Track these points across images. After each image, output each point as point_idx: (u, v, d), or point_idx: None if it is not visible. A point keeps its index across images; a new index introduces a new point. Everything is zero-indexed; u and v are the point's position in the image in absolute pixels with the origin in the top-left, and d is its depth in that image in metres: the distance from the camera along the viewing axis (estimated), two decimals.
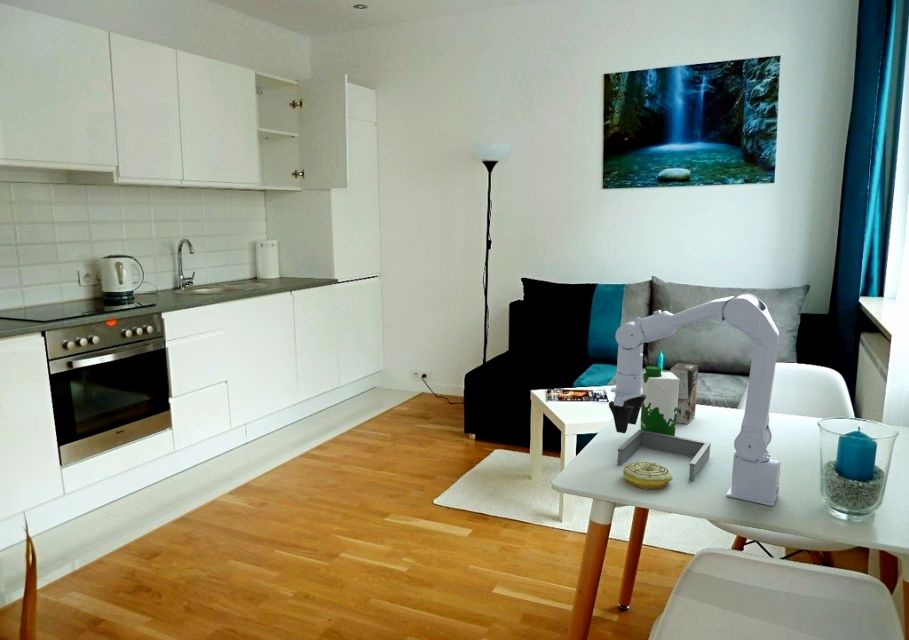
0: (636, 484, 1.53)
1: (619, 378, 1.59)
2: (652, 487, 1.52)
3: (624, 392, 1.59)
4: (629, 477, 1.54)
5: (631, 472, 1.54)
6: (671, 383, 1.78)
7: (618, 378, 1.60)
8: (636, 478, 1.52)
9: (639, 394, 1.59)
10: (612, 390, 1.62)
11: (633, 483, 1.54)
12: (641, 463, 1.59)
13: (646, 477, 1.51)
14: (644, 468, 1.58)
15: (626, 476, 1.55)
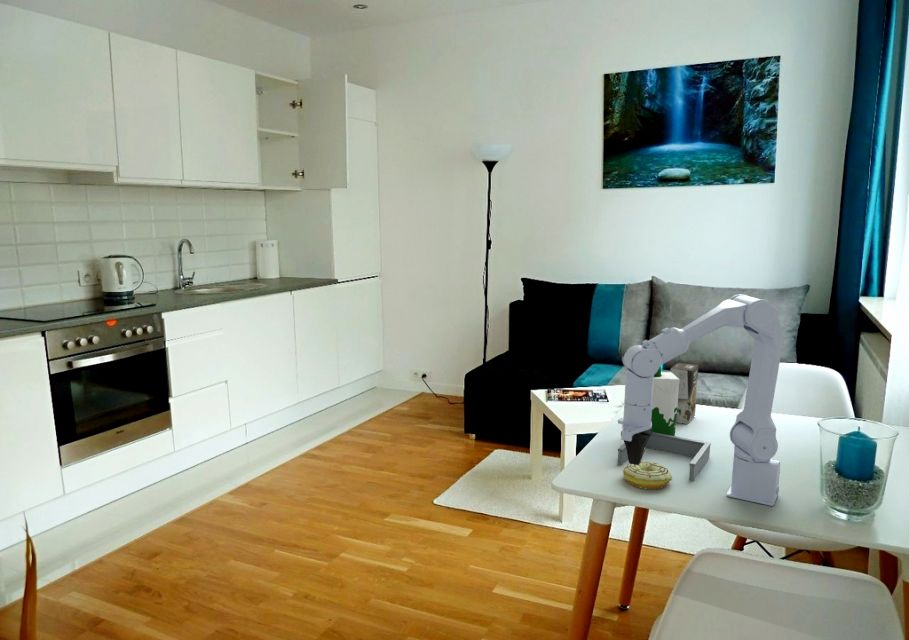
0: (636, 484, 1.53)
1: (627, 409, 1.43)
2: (652, 487, 1.52)
3: (632, 424, 1.43)
4: (629, 477, 1.54)
5: (631, 472, 1.54)
6: (671, 383, 1.78)
7: (626, 409, 1.44)
8: (636, 479, 1.52)
9: (649, 427, 1.43)
10: (619, 421, 1.46)
11: (633, 483, 1.54)
12: (641, 463, 1.59)
13: (646, 477, 1.51)
14: (644, 468, 1.58)
15: (626, 476, 1.55)
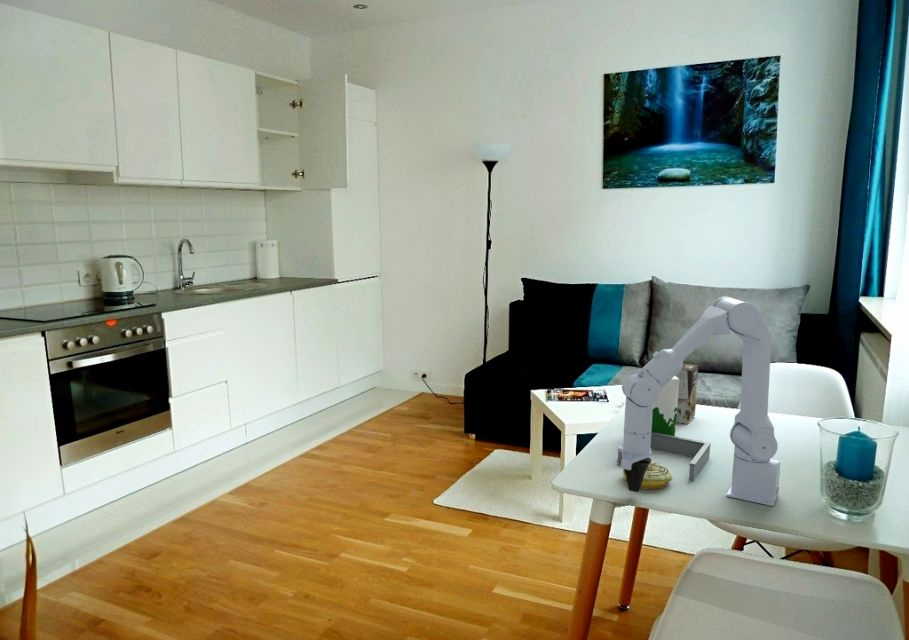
0: None
1: (626, 437, 1.45)
2: (652, 487, 1.52)
3: (632, 453, 1.44)
4: None
5: None
6: (671, 383, 1.78)
7: (625, 437, 1.45)
8: None
9: (648, 455, 1.45)
10: (619, 449, 1.48)
11: None
12: None
13: (646, 477, 1.51)
14: None
15: None
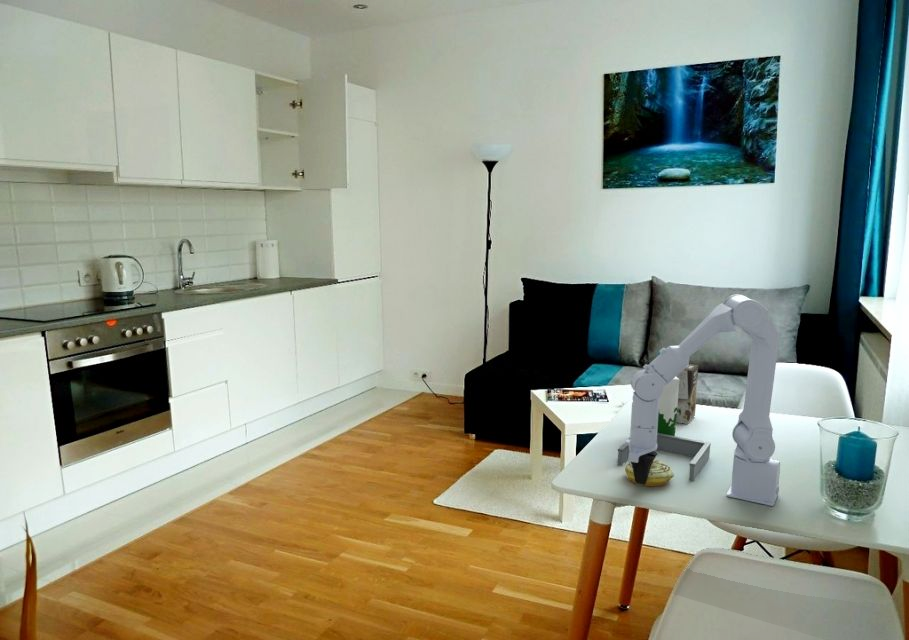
0: None
1: (633, 431, 1.49)
2: (654, 484, 1.53)
3: (639, 446, 1.48)
4: (631, 474, 1.55)
5: None
6: (671, 383, 1.78)
7: (632, 431, 1.49)
8: None
9: (655, 448, 1.49)
10: (626, 443, 1.52)
11: None
12: None
13: None
14: None
15: (628, 473, 1.56)
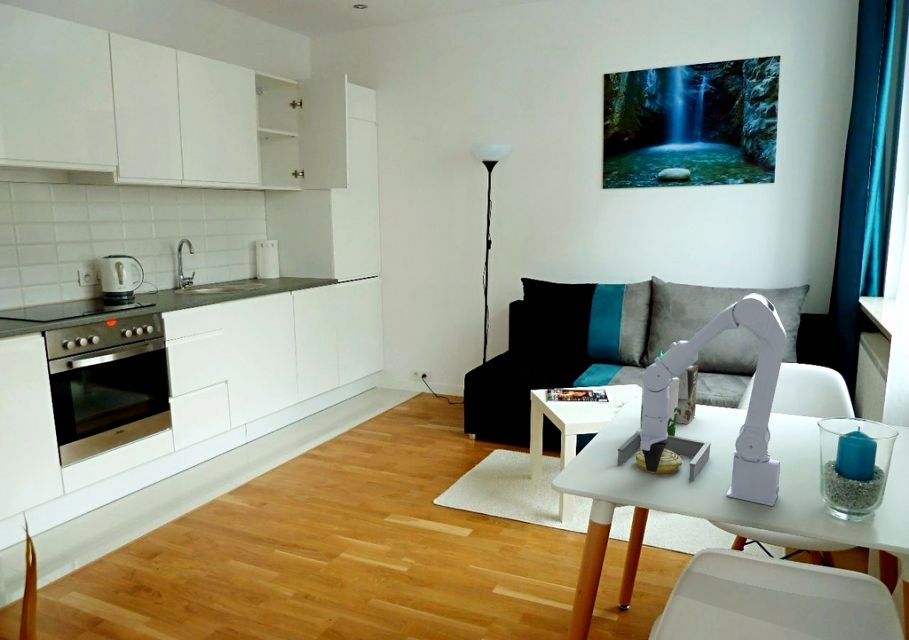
0: None
1: (645, 420, 1.56)
2: (664, 472, 1.60)
3: (650, 435, 1.55)
4: (642, 463, 1.62)
5: (644, 458, 1.62)
6: (671, 383, 1.78)
7: (644, 420, 1.56)
8: None
9: (665, 437, 1.56)
10: (637, 432, 1.59)
11: None
12: None
13: None
14: None
15: (639, 462, 1.63)
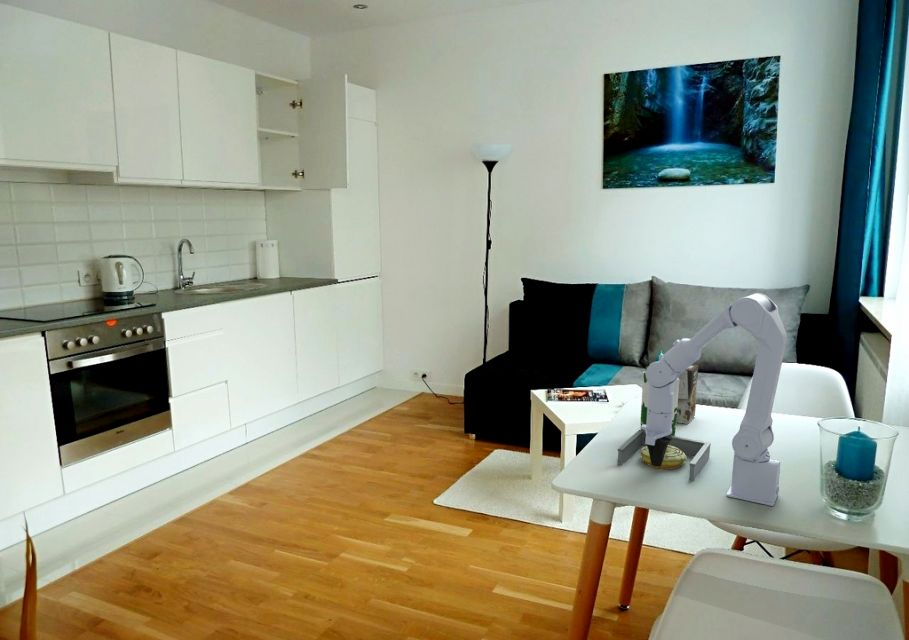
0: None
1: (650, 416, 1.59)
2: (669, 467, 1.64)
3: (655, 430, 1.59)
4: (647, 458, 1.66)
5: None
6: None
7: (649, 416, 1.60)
8: None
9: (670, 432, 1.59)
10: (642, 427, 1.62)
11: None
12: None
13: None
14: None
15: (644, 458, 1.66)
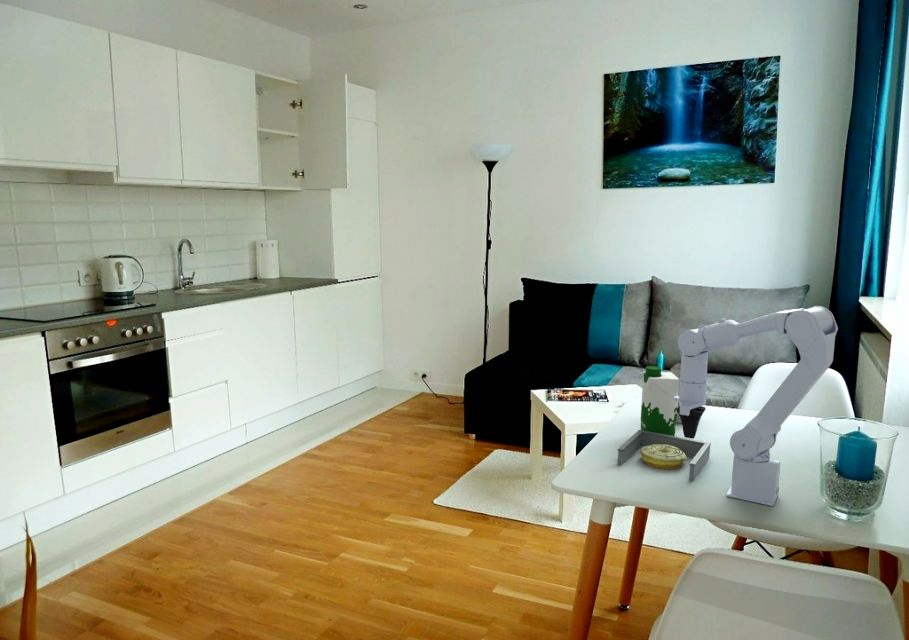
0: (654, 465, 1.64)
1: (683, 386, 1.56)
2: (669, 467, 1.64)
3: (689, 401, 1.55)
4: (647, 458, 1.65)
5: (649, 454, 1.65)
6: (671, 383, 1.78)
7: (682, 386, 1.56)
8: (654, 459, 1.64)
9: (704, 403, 1.55)
10: (675, 399, 1.58)
11: (651, 464, 1.65)
12: (657, 446, 1.70)
13: (663, 458, 1.63)
14: (660, 450, 1.69)
15: (644, 458, 1.66)
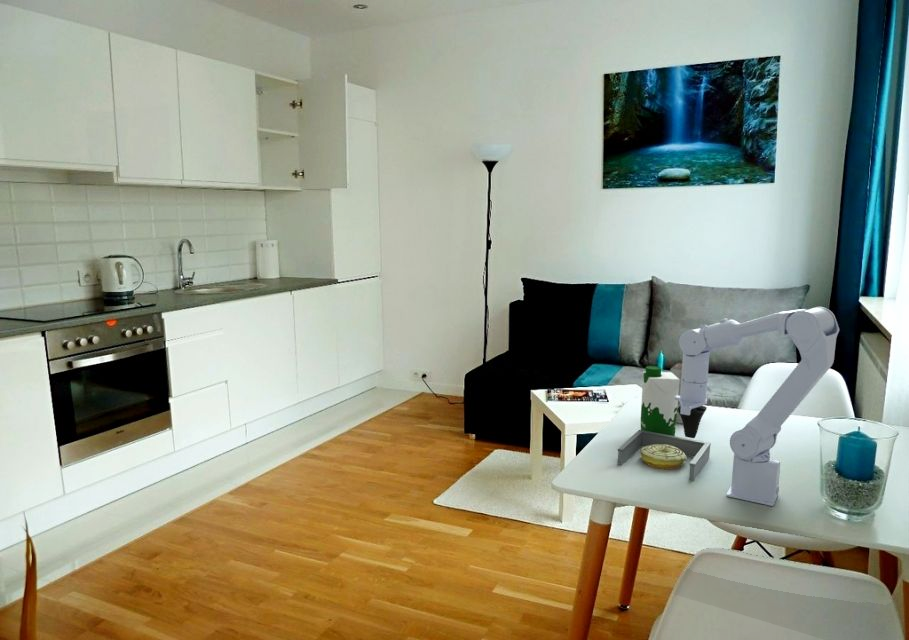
0: (654, 465, 1.64)
1: (684, 386, 1.56)
2: (669, 467, 1.64)
3: (690, 400, 1.55)
4: (647, 458, 1.65)
5: (649, 454, 1.65)
6: (671, 383, 1.78)
7: (683, 386, 1.56)
8: (654, 459, 1.64)
9: (705, 402, 1.55)
10: (676, 398, 1.58)
11: (651, 464, 1.65)
12: (657, 446, 1.70)
13: (663, 458, 1.63)
14: (660, 450, 1.69)
15: (644, 458, 1.66)
